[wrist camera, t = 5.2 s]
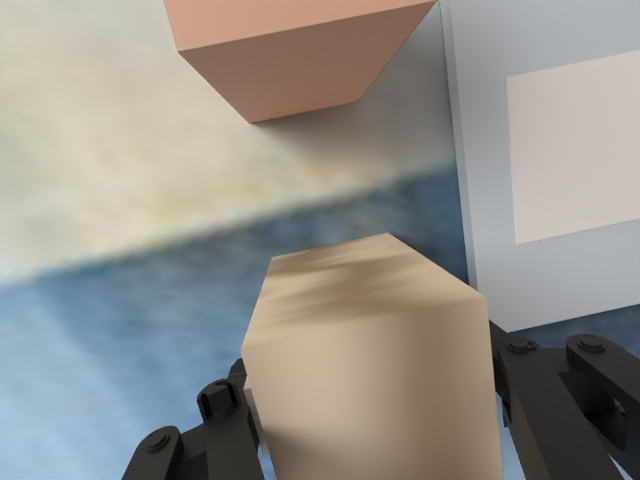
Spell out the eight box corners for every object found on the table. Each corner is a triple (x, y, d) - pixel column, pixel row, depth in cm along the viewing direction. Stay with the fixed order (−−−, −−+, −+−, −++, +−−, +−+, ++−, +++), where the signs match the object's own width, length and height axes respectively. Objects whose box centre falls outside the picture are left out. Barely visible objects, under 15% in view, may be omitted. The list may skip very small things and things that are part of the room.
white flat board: (473, 330, 20) (483, 339, 19) (437, -22, 16) (447, -37, 15) (681, 284, 20) (702, 290, 19) (700, -74, 16) (728, -92, 15)
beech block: (297, 361, 20) (294, 542, 10) (272, 257, 18) (239, 350, 9) (404, 337, 20) (504, 494, 10) (388, 232, 18) (486, 297, 9)
